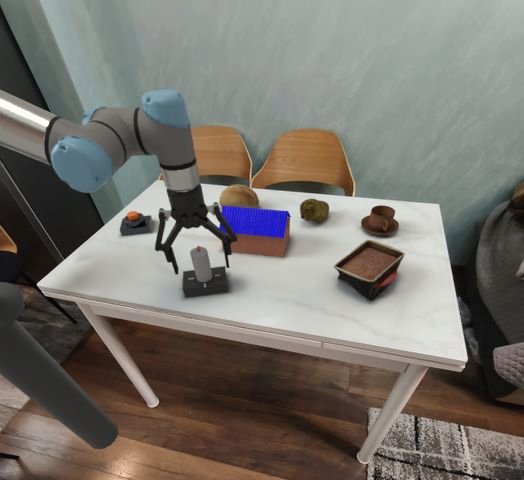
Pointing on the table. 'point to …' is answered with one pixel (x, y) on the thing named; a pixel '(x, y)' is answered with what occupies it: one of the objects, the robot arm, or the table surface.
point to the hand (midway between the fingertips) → (202, 268)
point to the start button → (133, 215)
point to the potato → (314, 210)
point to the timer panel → (205, 283)
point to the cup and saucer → (380, 221)
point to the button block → (136, 225)
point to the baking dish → (370, 268)
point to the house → (258, 230)
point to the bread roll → (239, 197)
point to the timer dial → (201, 264)
